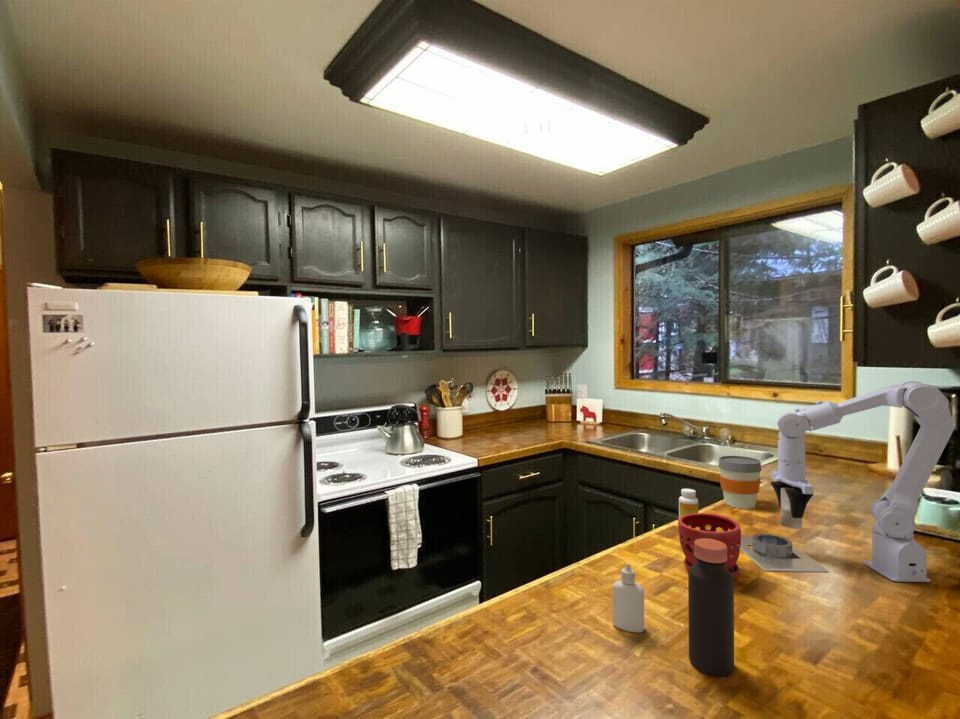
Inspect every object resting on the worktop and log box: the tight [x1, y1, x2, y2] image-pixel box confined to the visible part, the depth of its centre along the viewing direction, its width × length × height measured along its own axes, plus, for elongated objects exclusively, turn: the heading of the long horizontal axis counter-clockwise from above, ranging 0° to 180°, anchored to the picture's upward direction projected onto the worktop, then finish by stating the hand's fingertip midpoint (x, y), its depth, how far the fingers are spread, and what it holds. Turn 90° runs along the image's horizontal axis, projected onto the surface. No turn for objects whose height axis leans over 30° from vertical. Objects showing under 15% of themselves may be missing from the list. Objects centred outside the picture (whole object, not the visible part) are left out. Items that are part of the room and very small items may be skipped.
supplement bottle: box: [678, 488, 699, 519], centre depth 141 cm, size 5×5×10 cm
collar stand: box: [740, 533, 828, 573], centre depth 120 cm, size 20×14×3 cm
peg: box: [780, 488, 803, 530], centre depth 119 cm, size 4×4×9 cm
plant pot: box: [677, 512, 742, 579], centre depth 110 cm, size 13×13×12 cm
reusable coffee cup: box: [718, 455, 762, 510], centre depth 157 cm, size 13×13×15 cm
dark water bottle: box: [687, 538, 735, 677], centre depth 78 cm, size 7×7×20 cm
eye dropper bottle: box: [611, 562, 645, 633], centre depth 89 cm, size 4×6×12 cm
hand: (791, 514), depth 119 cm, fingers closed on peg, 4 cm apart
